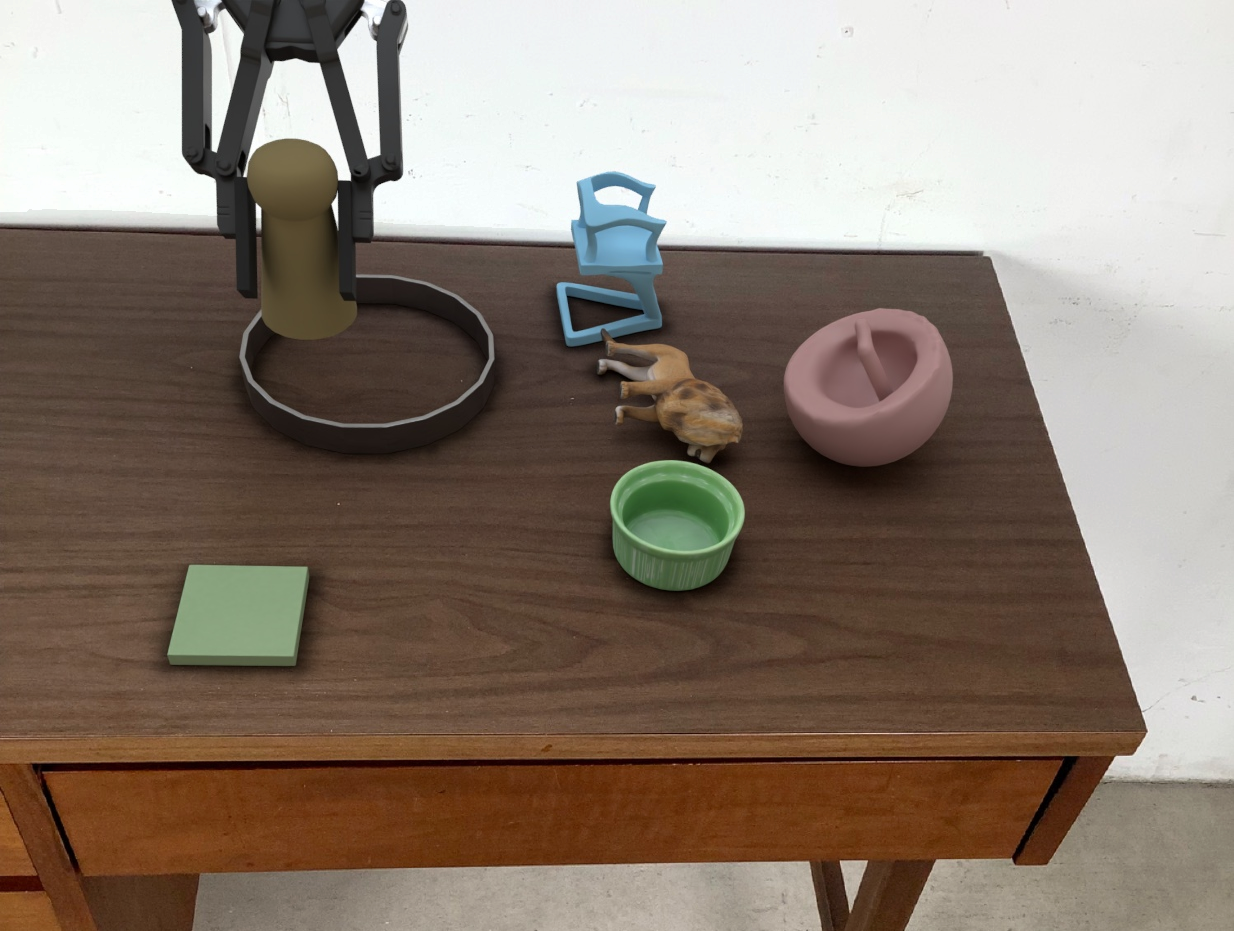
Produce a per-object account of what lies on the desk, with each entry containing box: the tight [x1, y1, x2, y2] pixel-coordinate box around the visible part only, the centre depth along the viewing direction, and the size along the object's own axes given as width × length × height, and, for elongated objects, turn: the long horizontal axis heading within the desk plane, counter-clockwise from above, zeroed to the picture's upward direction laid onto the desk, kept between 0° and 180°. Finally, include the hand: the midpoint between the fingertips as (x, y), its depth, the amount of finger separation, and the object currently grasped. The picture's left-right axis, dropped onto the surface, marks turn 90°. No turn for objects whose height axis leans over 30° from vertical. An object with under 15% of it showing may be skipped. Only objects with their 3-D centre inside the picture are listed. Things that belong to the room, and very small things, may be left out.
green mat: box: [166, 564, 310, 667], centre depth 77 cm, size 8×8×1 cm
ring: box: [238, 273, 495, 455], centre depth 93 cm, size 19×19×2 cm
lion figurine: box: [596, 328, 744, 464], centre depth 92 cm, size 15×5×9 cm
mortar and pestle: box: [782, 307, 954, 468], centre depth 89 cm, size 12×12×12 cm
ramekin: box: [609, 459, 746, 592], centre depth 82 cm, size 9×9×4 cm
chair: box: [556, 170, 668, 347], centre depth 97 cm, size 8×8×12 cm
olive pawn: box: [246, 138, 358, 341], centre depth 74 cm, size 6×6×11 cm
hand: (297, 295), depth 73 cm, fingers closed on olive pawn, 5 cm apart
